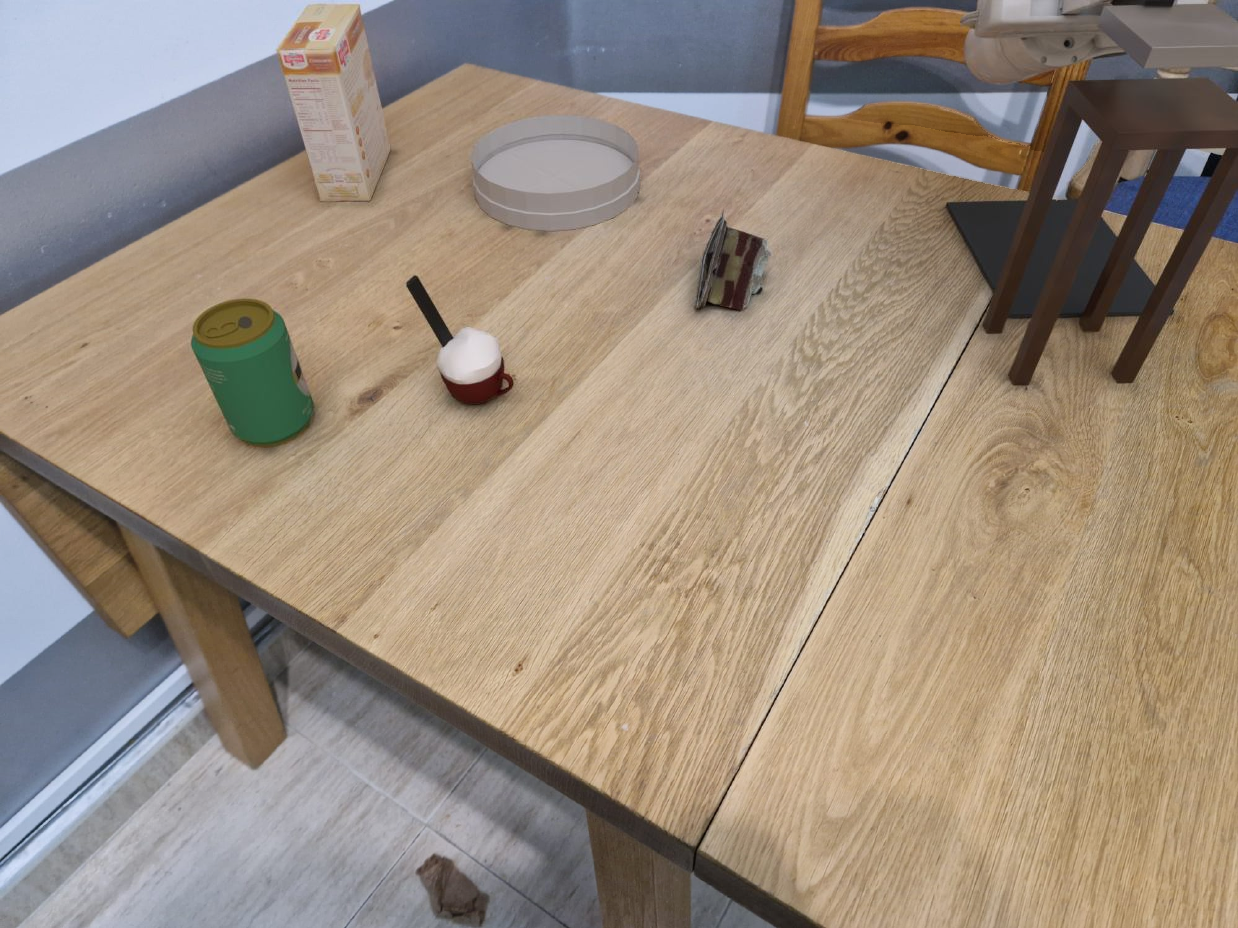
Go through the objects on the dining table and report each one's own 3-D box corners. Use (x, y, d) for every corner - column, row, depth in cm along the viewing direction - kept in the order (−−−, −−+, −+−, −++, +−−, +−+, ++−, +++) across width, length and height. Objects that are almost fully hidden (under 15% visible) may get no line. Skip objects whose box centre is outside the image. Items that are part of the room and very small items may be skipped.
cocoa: (526, 400, 86) (514, 299, 77) (473, 428, 83) (455, 328, 74) (473, 355, 91) (456, 256, 82) (422, 380, 88) (398, 281, 79)
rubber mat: (1086, 203, 110) (1087, 199, 110) (1172, 315, 94) (1174, 310, 93) (945, 206, 110) (946, 201, 110) (1006, 318, 94) (1008, 314, 93)
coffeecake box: (343, 149, 124) (306, 3, 110) (393, 149, 124) (362, 2, 110) (317, 202, 113) (272, 48, 99) (371, 202, 113) (334, 47, 99)
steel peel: (1154, -13, 79) (1164, -37, 77) (1260, 66, 66) (1274, 39, 65) (1056, -11, 79) (1064, -35, 77) (1143, 69, 66) (1154, 42, 65)
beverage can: (326, 431, 83) (290, 331, 74) (242, 461, 80) (194, 361, 72) (304, 384, 88) (268, 285, 79) (224, 411, 85) (177, 311, 76)
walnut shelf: (1093, 322, 93) (1208, 77, 74) (1133, 382, 86) (1270, 129, 67) (982, 324, 93) (1068, 80, 74) (1013, 385, 86) (1117, 132, 67)
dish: (674, 187, 115) (675, 151, 111) (547, 251, 104) (544, 214, 101) (565, 134, 126) (563, 100, 123) (441, 187, 116) (435, 151, 112)
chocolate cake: (757, 328, 94) (791, 221, 93) (696, 307, 93) (730, 200, 93) (738, 334, 103) (769, 238, 103) (683, 316, 103) (713, 219, 102)
